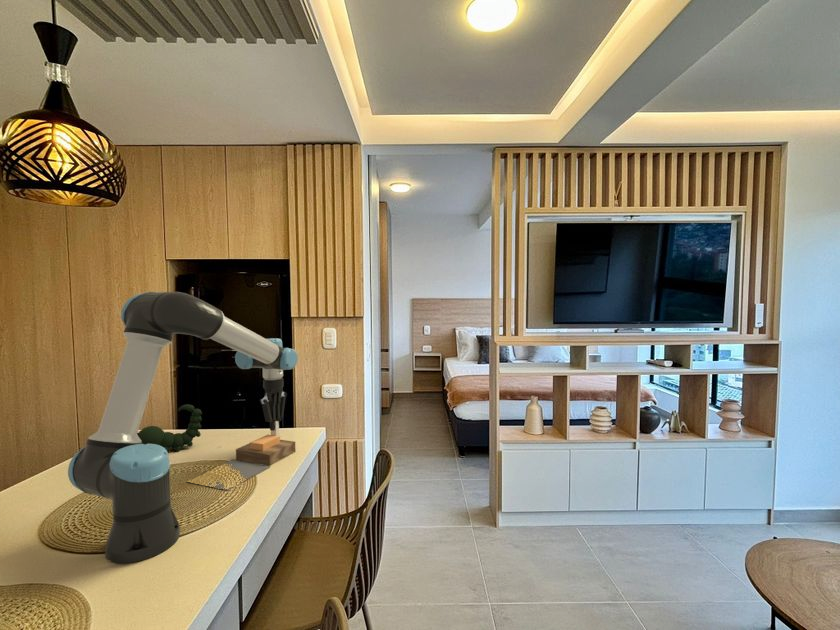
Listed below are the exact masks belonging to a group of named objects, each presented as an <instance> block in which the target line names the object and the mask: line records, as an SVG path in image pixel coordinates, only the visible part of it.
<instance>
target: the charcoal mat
mask: <svg viewBox="0 0 840 630" xmlns="http://www.w3.org/2000/svg"><path fill="white" fill-rule="evenodd" d="M225 463H226V464H228V466H229V464H230V466H231V464H232V466H231V468H232V470H233V468H234V470H235V469H236V470H237V471H238V470H239V471H240V474H241V477H242V475H243V477H244V478H245V479H246V481H248V480H249V479H248V478H250V479H252V478H253V477H252V476H254V477H255V476H257V475H259V474H262V472H264V471H267V470H268V469H270V468H271V466H269V465H263V464H257V463H252V462H246V461H240V460H235V459H230V460H228V461H226V462H224V463H222V464H220V465H219V466H221V465H223V464H225ZM226 466H227V465H226ZM232 472H233V471H232ZM234 472H235V471H234ZM241 472H242V473H241ZM237 473H238V472H237ZM246 477H247V478H246ZM251 477H252V478H251ZM216 478H217V477H216ZM242 479H243V478H242ZM247 479H248V480H247ZM220 480H221V479H220ZM215 481H216V480H215ZM217 481H218V480H217ZM242 481H243V480H242ZM219 483H220V482H216V484H219ZM211 484H212V483H211ZM211 484H210V483H209V485H211ZM213 487H214V486H213ZM221 487H222V488H221ZM215 488H219V489H218V490H220V489H223V483H222V484H221V485H220V484H219V485H218V486H217V485H216V486H215ZM215 488H214V489H215ZM229 489H230V488H229ZM229 489H225V488H224V489H223V490H222V491H224V490H228V491H230V490H231V489H230V490H229Z"/></svg>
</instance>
